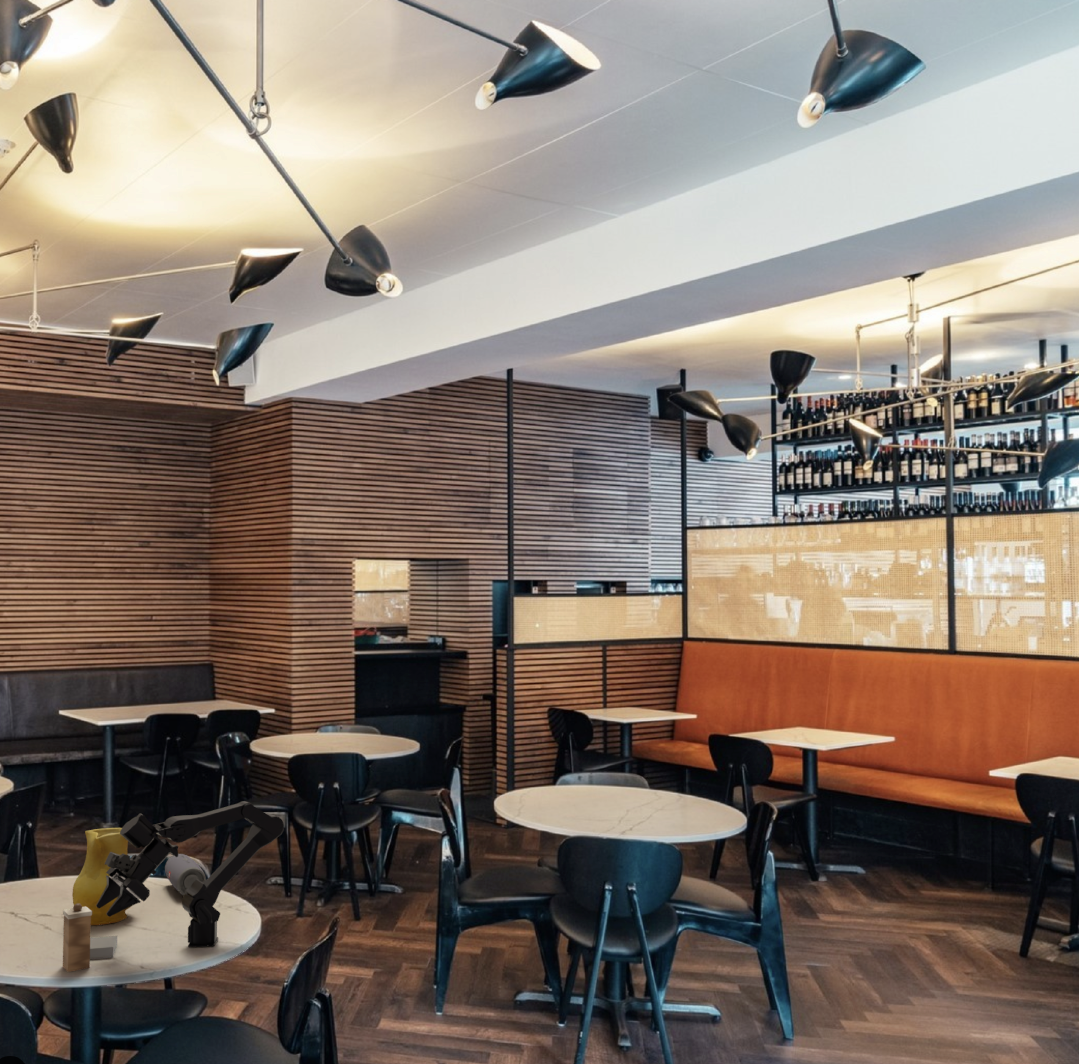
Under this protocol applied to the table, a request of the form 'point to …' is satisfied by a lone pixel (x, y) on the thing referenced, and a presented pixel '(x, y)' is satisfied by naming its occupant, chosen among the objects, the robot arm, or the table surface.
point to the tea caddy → (76, 938)
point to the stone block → (103, 947)
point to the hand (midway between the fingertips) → (102, 911)
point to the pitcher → (98, 873)
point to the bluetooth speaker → (183, 872)
